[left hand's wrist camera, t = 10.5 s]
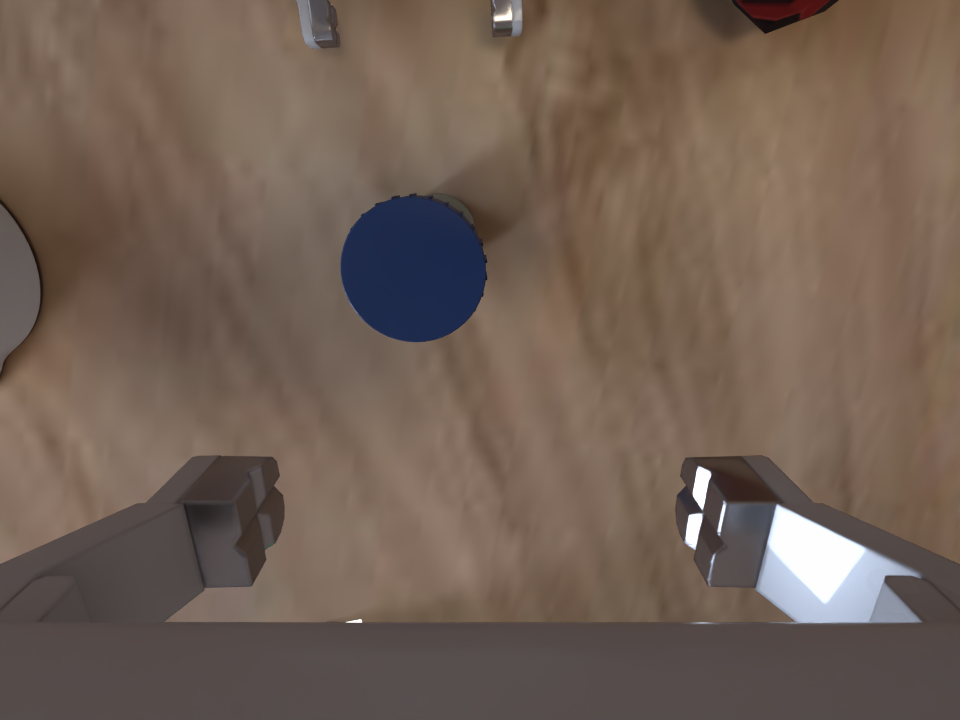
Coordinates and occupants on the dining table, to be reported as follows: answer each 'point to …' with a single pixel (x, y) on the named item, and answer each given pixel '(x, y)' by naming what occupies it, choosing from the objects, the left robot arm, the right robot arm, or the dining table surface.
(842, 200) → the dining table surface
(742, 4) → the toy
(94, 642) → the left robot arm
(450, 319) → the lid
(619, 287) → the dining table surface
